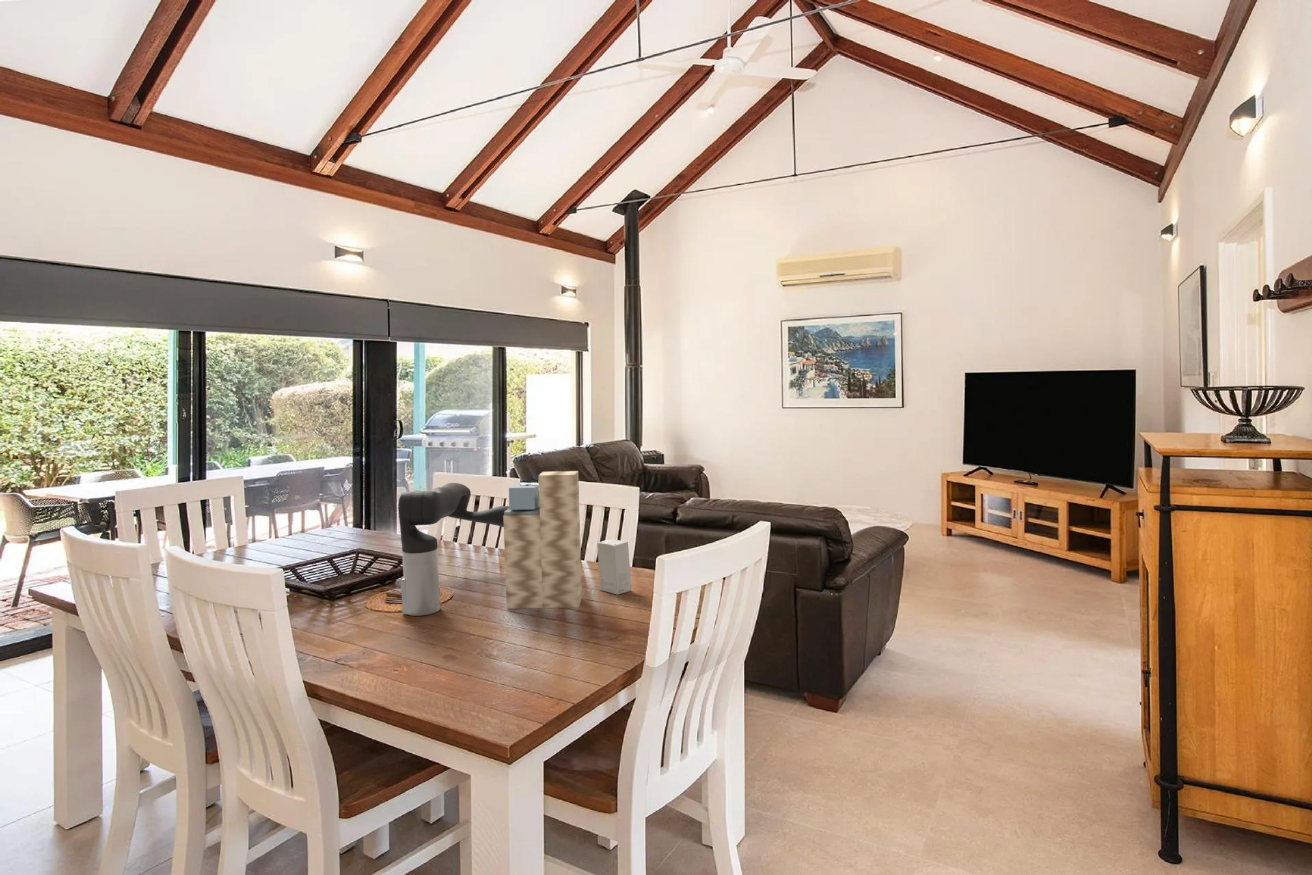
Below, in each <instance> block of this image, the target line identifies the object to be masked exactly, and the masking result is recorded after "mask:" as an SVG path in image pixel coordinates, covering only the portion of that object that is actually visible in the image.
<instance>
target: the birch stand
mask: <svg viewBox="0 0 1312 875" xmlns="http://www.w3.org/2000/svg"><path fill="white" fill-rule="evenodd" d="M538 486H539V506H540V507H538V508H536V509H529V510H509V508H508V509H507V510H506V511H505V512H504V516H503V521H504V527H503V539H504V540H503V541H504V543H503V545H504V546H503V548H504V572H505V594H506V595H505V596H506V599H505V600H506V609H508V610H509V609H510V610H511V609H551V608H552V609H554V608H555V609H561V608H580V606H581V602H582V601H583V600H582V599H583V592H582V591H583V590H582V561H581V560H582V559H581V526H580V525H581V524H580V522H581V521H580V517H581V516H580V493H579V492H580V491H579V490H580V487H579V486H580V485H579V470H570V471H568V470H567V471H566V470H565V471H564V470H563V471H557V470H556V471H555V470H554V471H541V473H539V474H538Z"/></svg>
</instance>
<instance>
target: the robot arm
mask: <svg viewBox="0 0 1312 875" xmlns="http://www.w3.org/2000/svg"><path fill="white" fill-rule="evenodd" d="M470 500H471V489H470V488H469V487H467V486H466V485H465V484H463V483H459V482H448V483H446V484H444V485H443V486H441V487H435V488H432V489H430V490H423V491H422V490H421V491H420V490H419V491H418V490H415V491H404V492H402V493H401V494H400V496H399V499H398V504H397V506H398V508H397V509H398V510H397V511H398V519H399V529H400V540H401V541H400V542H401V549H402V550H401V551H402V552H401V553H402V568H403V569H402V572H403V578H402V579H401V580H400V588H401V605H402V611H401V612H402V615H409V616H412V617H413V616H414V617H415V616H417V617H420V616H429V615H432V614H436V613H438V612H439V611H440V609H441V593H440V592H441V590H440V571H439V552H438V551H439V548H438V539H437V538H436V537H435V536H434V535H430V534H428V533H425V532H422V531H421V530H419V529H418V528H417V527H416V526H429V525H435V524H437V523H438V522H439V521H440V520H441V519H444V518H446V517H448V518H452V519H457V520H462V521H468V522H475V523H481V524H487V525H494V526H498V527H502V528H504V521H503V516H504V512H505V511H506V510H507V509H508V508H509V505H500V506H496V507H491V508H488V509H485V510H480V511H471V510H468V506H469V502H470ZM539 507H540V506H539Z"/></svg>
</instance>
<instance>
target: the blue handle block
mask: <svg viewBox="0 0 1312 875" xmlns="http://www.w3.org/2000/svg"><path fill="white" fill-rule="evenodd" d="M508 503H509V504H508V506H509V510H529V509H536V508H538V507H539V485H514V486H511V487H508Z"/></svg>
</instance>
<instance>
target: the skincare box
mask: <svg viewBox="0 0 1312 875" xmlns="http://www.w3.org/2000/svg"><path fill="white" fill-rule="evenodd" d="M596 544H597V558H598V559H597V560H598V573H599V574H598V575H599V578H598V579H599V590H600V591H604V592H606V593H607V592H608V593H610V594H613V595H620V594H624V593H628V592H631V591H632V581H631V580H632V579H631V566H630V554H629V553H630V551H629V541H624V540H619V539H618V540H617V539H613V538H610V539H605V540H602V541H598V542H596Z"/></svg>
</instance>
